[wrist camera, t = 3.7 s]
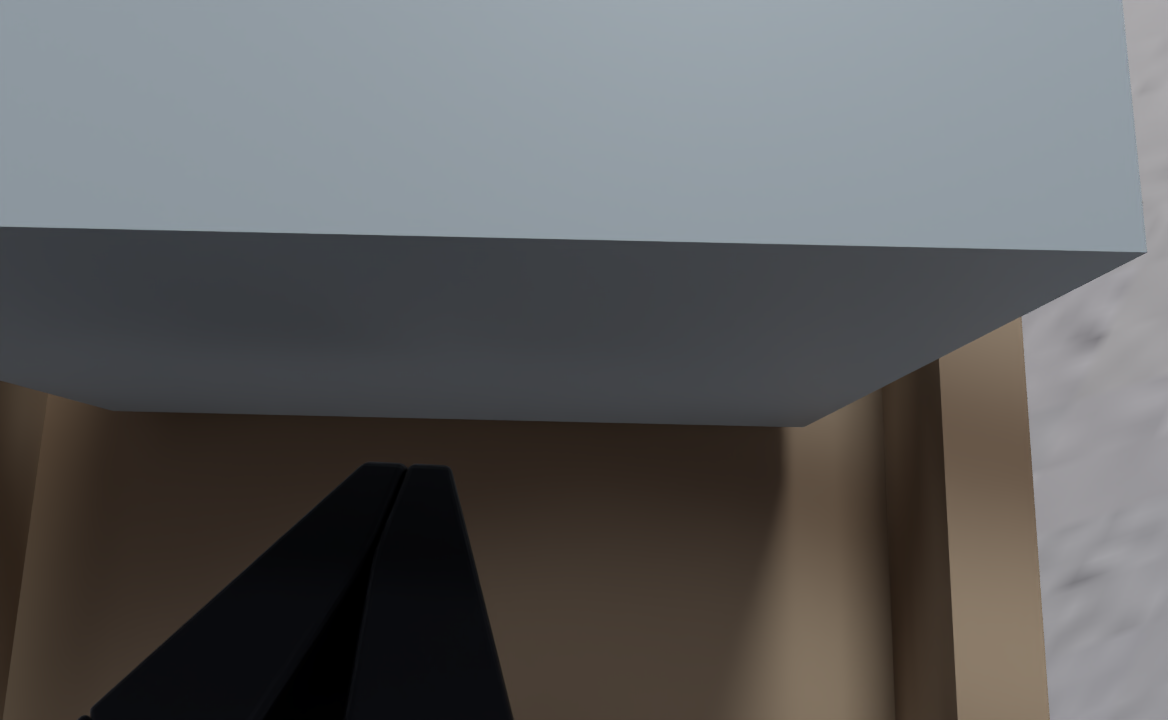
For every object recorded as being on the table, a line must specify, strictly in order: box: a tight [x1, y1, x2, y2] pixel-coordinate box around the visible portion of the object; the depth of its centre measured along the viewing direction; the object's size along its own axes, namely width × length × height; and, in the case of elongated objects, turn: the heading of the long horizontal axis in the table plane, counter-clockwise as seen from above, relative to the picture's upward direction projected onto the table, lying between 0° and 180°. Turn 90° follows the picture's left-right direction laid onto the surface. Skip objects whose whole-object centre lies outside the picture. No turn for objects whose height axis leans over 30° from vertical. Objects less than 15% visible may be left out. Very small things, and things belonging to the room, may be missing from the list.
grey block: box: [0, 0, 1147, 427], centre depth 11 cm, size 5×11×9 cm, turn 89°
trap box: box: [0, 317, 1050, 720], centre depth 14 cm, size 23×16×5 cm
